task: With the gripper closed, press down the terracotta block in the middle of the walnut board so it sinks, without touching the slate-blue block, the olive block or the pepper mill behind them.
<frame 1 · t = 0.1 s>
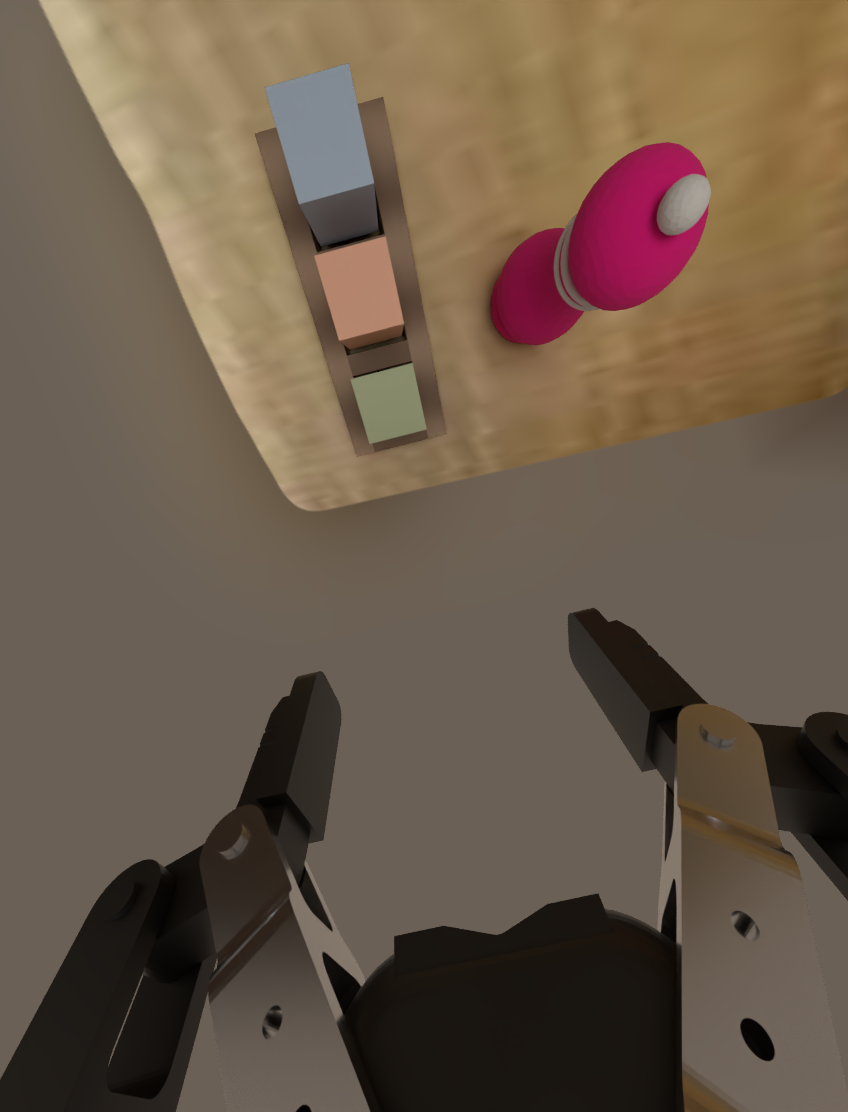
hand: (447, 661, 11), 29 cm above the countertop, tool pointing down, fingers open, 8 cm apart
slate block: (332, 172, 22), point 6 cm above the countertop, slide at 0.0 cm
walnut board: (369, 316, 30), on the countertop
pepper mill: (522, 303, 31), on the countertop
terracotta block: (364, 302, 25), point 6 cm above the countertop, slide at 0.0 cm
olive block: (390, 402, 28), point 6 cm above the countertop, slide at 0.0 cm
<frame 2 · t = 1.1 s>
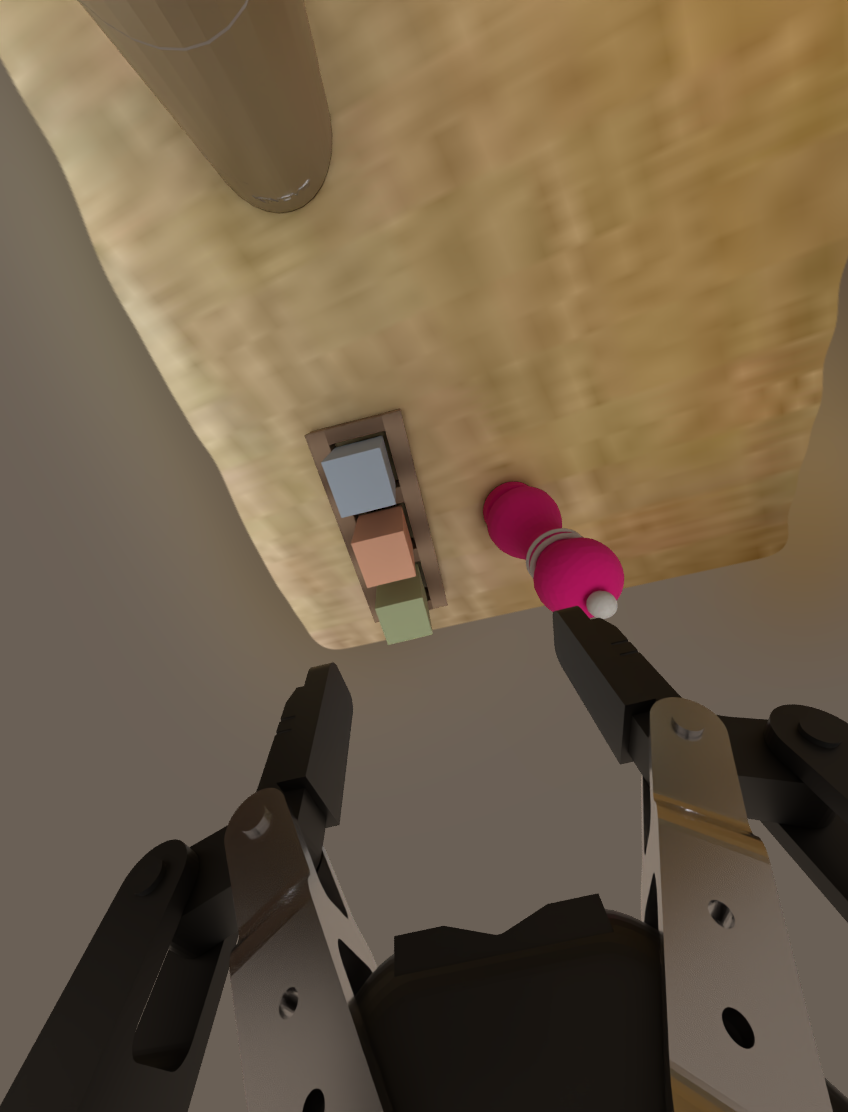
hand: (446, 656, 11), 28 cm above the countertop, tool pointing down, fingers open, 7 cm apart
slate block: (363, 473, 30), point 6 cm above the countertop, slide at 0.0 cm
walnut board: (386, 521, 38), on the countertop
pepper mill: (509, 507, 39), on the countertop
terracotta block: (385, 543, 33), point 6 cm above the countertop, slide at 0.0 cm
olive block: (403, 601, 36), point 6 cm above the countertop, slide at 0.0 cm
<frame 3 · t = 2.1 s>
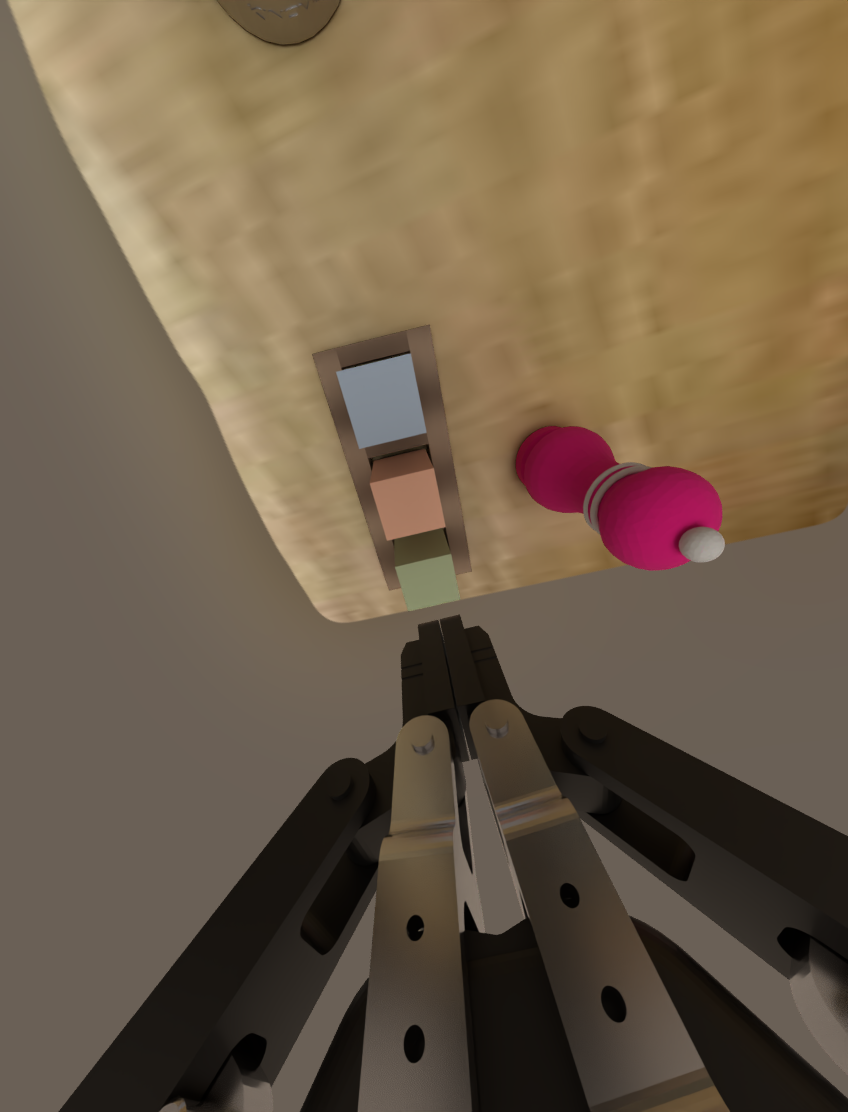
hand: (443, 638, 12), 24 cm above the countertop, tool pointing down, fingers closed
slate block: (384, 399, 24), point 6 cm above the countertop, slide at 0.0 cm
walnut board: (404, 472, 33), on the countertop
pepper mill: (545, 458, 34), on the countertop
terracotta block: (407, 491, 28), point 6 cm above the countertop, slide at 0.0 cm
olive block: (425, 563, 31), point 6 cm above the countertop, slide at 0.0 cm
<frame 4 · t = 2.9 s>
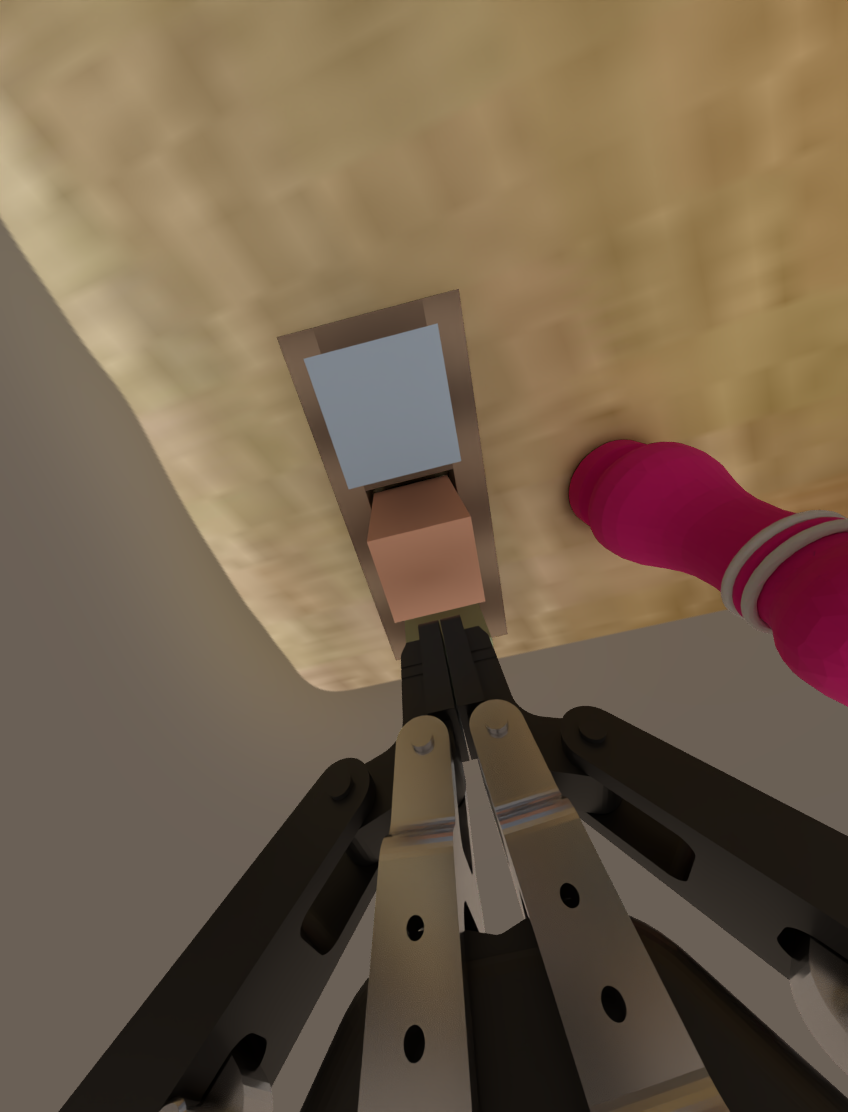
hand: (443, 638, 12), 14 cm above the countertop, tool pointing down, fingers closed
slate block: (389, 406, 15), point 6 cm above the countertop, slide at 0.0 cm
walnut board: (416, 505, 24), on the countertop
pepper mill: (608, 483, 25), on the countertop
terracotta block: (423, 541, 19), point 6 cm above the countertop, slide at 0.0 cm
olive block: (447, 635, 22), point 6 cm above the countertop, slide at 0.0 cm
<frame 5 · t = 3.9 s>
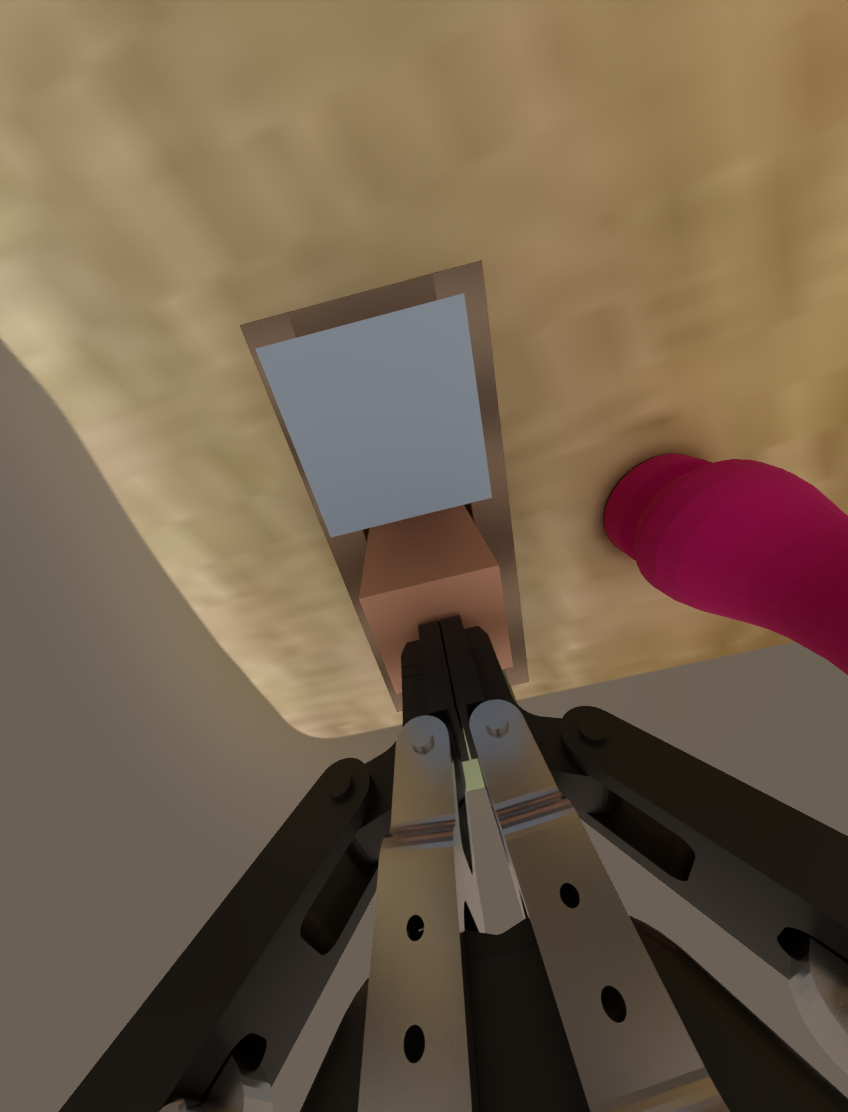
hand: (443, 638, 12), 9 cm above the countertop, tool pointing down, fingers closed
slate block: (389, 418, 11), point 6 cm above the countertop, slide at 0.0 cm
walnut board: (421, 531, 20), on the countertop
pepper mill: (651, 504, 21), on the countertop
terracotta block: (431, 582, 15), point 6 cm above the countertop, slide at 0.4 cm, touching gripper
olive block: (460, 694, 18), point 6 cm above the countertop, slide at 0.0 cm
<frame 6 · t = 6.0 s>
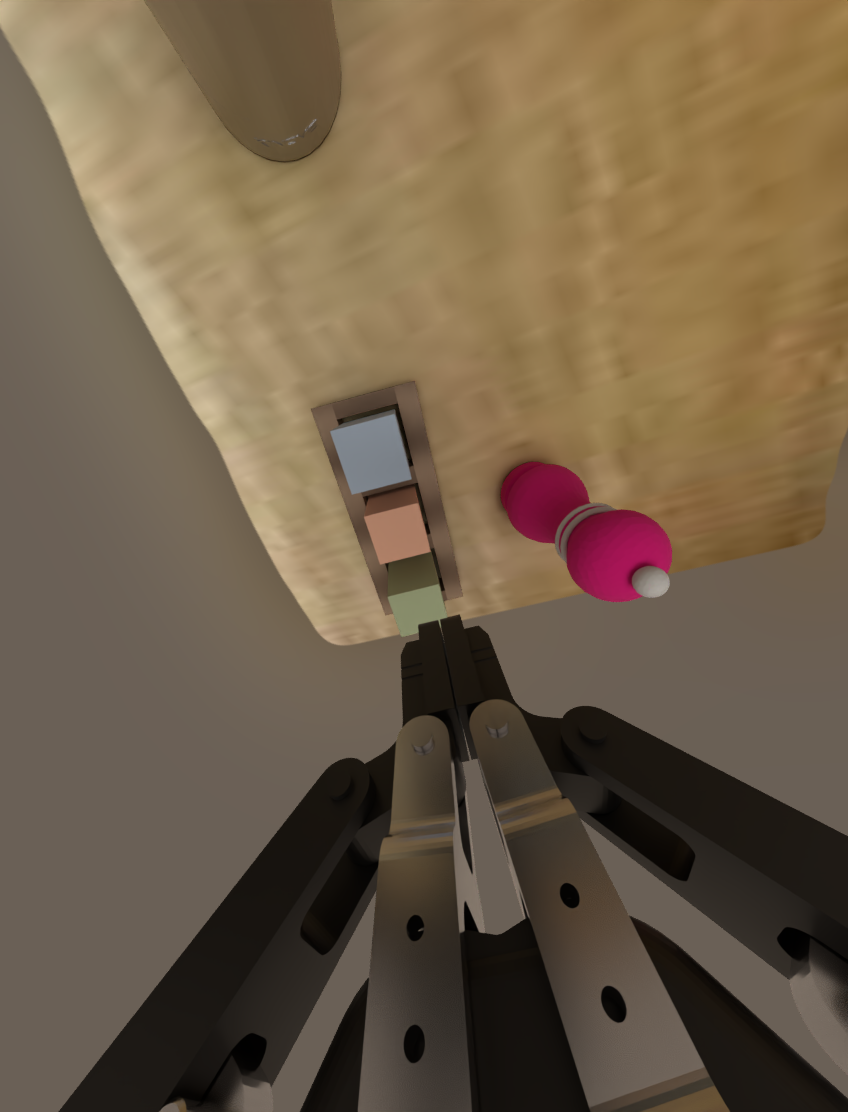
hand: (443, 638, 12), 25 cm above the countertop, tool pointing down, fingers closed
slate block: (374, 448, 27), point 6 cm above the countertop, slide at 0.0 cm
walnut board: (397, 506, 36), on the countertop
pepper mill: (528, 490, 36), on the countertop
terracotta block: (397, 520, 32), point 4 cm above the countertop, slide at 1.7 cm
olive block: (417, 590, 33), point 6 cm above the countertop, slide at 0.0 cm
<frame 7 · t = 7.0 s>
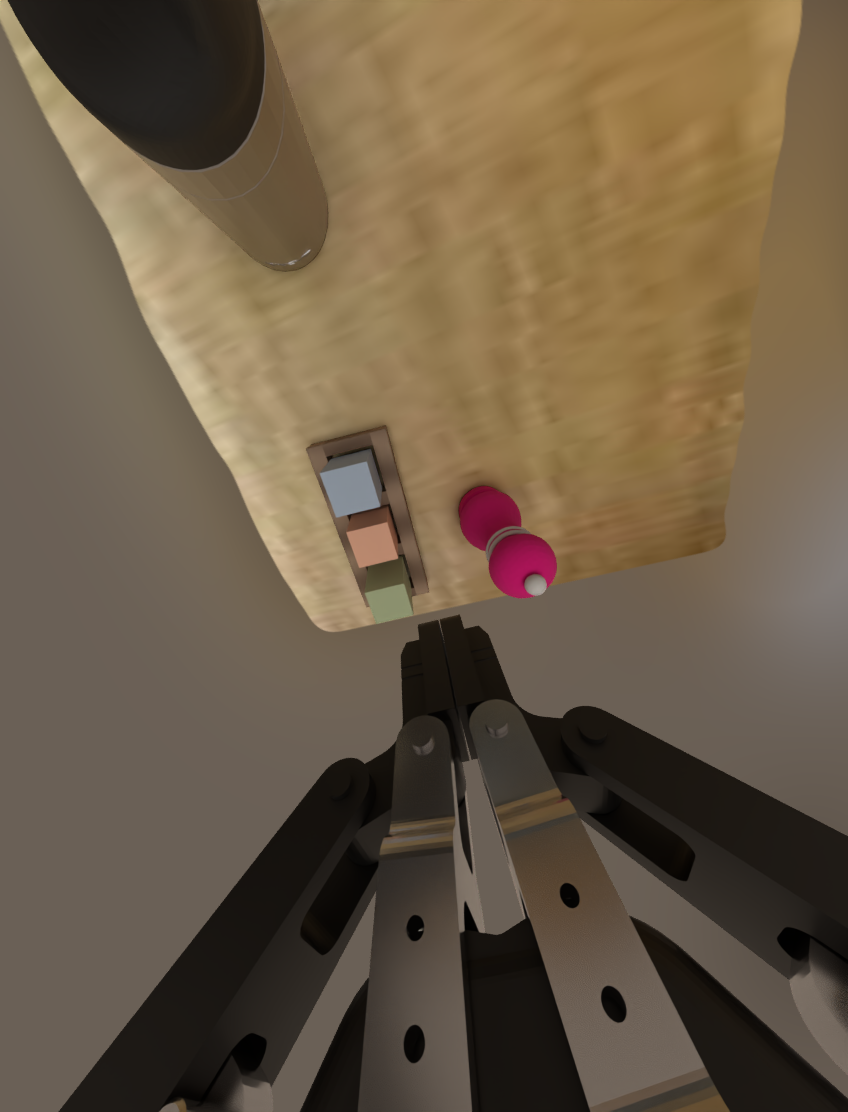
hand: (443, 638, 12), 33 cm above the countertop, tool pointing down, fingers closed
slate block: (354, 481, 36), point 6 cm above the countertop, slide at 0.0 cm
walnut board: (375, 520, 45), on the countertop
pepper mill: (481, 508, 45), on the countertop
terracotta block: (374, 533, 41), point 4 cm above the countertop, slide at 1.7 cm
olive block: (389, 588, 42), point 6 cm above the countertop, slide at 0.0 cm
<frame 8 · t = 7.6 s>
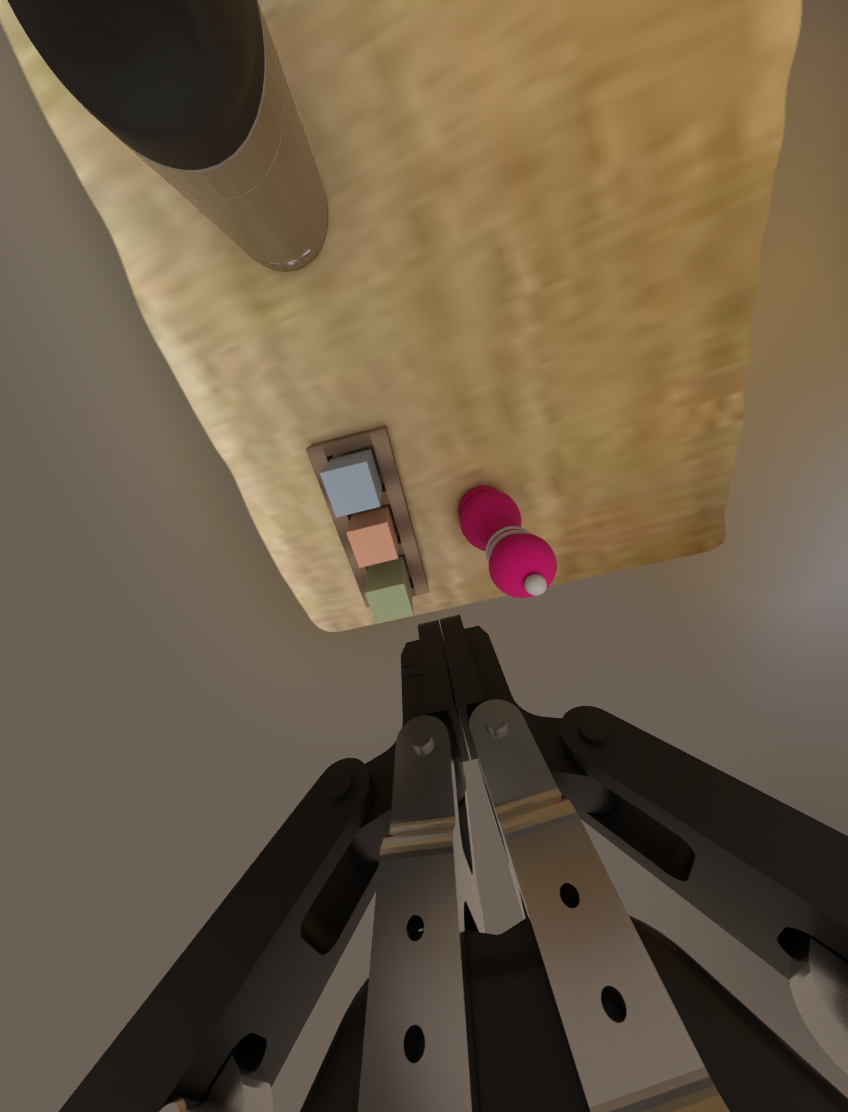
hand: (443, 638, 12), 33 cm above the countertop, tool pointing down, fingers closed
slate block: (354, 481, 36), point 6 cm above the countertop, slide at 0.0 cm
walnut board: (375, 520, 45), on the countertop
pepper mill: (481, 508, 45), on the countertop
terracotta block: (374, 533, 41), point 4 cm above the countertop, slide at 1.7 cm
olive block: (389, 588, 42), point 6 cm above the countertop, slide at 0.0 cm
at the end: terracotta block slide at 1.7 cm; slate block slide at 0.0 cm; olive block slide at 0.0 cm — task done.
